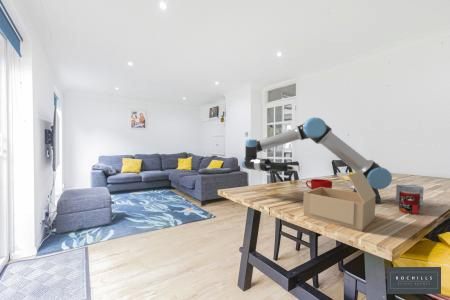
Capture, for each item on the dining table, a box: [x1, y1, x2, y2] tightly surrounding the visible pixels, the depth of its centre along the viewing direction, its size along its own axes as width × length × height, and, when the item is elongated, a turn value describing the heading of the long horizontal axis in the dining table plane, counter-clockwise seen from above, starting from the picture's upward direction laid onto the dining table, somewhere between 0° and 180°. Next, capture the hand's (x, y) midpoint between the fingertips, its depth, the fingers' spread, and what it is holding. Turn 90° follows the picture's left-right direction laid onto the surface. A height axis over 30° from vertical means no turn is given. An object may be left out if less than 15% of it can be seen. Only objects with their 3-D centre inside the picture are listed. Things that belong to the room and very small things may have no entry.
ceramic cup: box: [305, 178, 333, 190], centre depth 140 cm, size 13×17×10 cm
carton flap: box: [347, 171, 376, 204], centre depth 90 cm, size 12×19×1 cm
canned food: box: [398, 189, 421, 215], centre depth 107 cm, size 8×8×11 cm
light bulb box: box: [395, 184, 424, 206], centre depth 123 cm, size 11×7×11 cm, turn 84°
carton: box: [302, 187, 376, 232], centre depth 97 cm, size 24×21×11 cm
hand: (299, 168), depth 111 cm, fingers closed
